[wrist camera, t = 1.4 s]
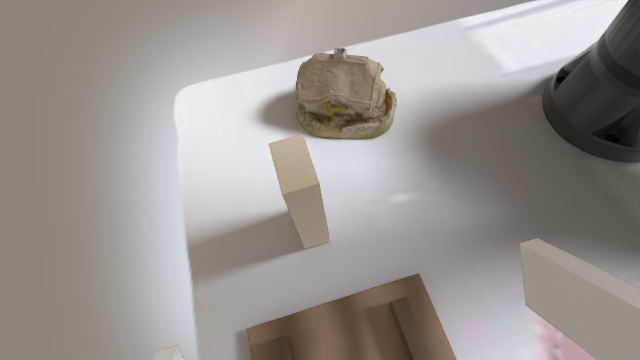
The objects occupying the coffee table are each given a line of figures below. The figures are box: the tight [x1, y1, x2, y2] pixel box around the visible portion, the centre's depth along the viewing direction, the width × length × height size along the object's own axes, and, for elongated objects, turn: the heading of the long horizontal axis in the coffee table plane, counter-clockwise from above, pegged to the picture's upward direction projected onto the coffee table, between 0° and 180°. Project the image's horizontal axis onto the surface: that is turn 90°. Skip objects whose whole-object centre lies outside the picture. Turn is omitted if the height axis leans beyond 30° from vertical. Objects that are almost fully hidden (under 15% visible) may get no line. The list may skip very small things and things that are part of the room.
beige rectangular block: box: [269, 134, 330, 249], centre depth 34 cm, size 3×5×14 cm, turn 16°
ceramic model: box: [296, 48, 397, 139], centre depth 44 cm, size 14×11×10 cm
